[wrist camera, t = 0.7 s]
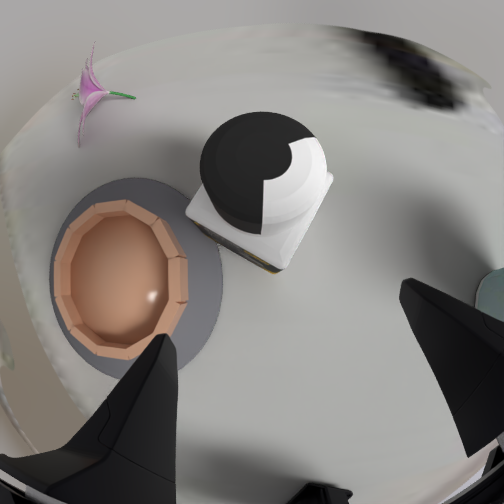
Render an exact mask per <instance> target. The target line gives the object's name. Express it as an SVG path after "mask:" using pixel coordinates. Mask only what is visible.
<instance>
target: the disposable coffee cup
mask: <svg viewBox="0 0 504 504" xmlns="http://www.w3.org/2000/svg"><path fill="white" fill-rule="evenodd" d="M475 308H476V309H478V310H480V311H481V312H484V313H486V314H488V315H490V316H492V317H494V318H496V319H498V320H500V321H503V322H504V268H501V269H498V270H494V271H492V272H491V273H490V274H488V275H487V276H486V277H485V278H483V279H482V280H481V282H480V285H479V287H478V290H477V292H476V301H475Z"/></svg>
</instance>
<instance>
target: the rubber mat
mask: <svg viewBox="0 0 504 504" xmlns="http://www.w3.org/2000/svg"><path fill="white" fill-rule="evenodd" d="M124 199H126V200H129V201H131V202H133V203H135V204H137V205H138V206H140V207H142V208H144V209H146V210H147V211H149V212H151V213H153V214H155V215H156V216H158V217H160V218H161V219H163V220H165V221H166V222H167V223H168V224H169V225H170V227H171V229H172V231H173V233H174V235H175V236H176V238H177V240H178V242H179V244H180V245H181V247H182V249H183V251H184V253H185V254H186V256H187V257H186V258H185V259H188V299H189V300H186V302H188V303H187V305H186V307H185V309H184V311H183V313H182V315H181V317H180V319H179V321H178V323H177V325H176V327H175V329H174V331H173V333H172V335H171V336H170V339H171V340H172V342H173V344H174V345H175V347H176V351H177V371H178V370H180V369H181V368H183V367H184V366H185V365H186V364H188V363H189V362H190V361H191V360H192V359H193V358H194V357H195V356H196V355H197V354H198V352H199V351H200V350H201V349H202V348H203V346H204V345H205V343H206V341H207V340H208V338H209V337H210V335H211V332H212V330H213V328H214V326H215V324H216V321H217V317H218V314H219V310H220V305H221V299H222V289H223V275H222V264H221V259H220V255H219V250H218V247H217V244H216V241H214V240H212V239H210V238H209V237H207V236H205V235H204V234H203V233H202V231H201V230H200V229H199V228H198V227H197V226H196V225H195V224H194V223H193V222H192V221H191V220H190V219H189V218H188V217H187V216H186V213H185V211H186V208H187V207H188V205H189V204H190V201H189V200H188V199H187V198H186V197H185V196H183V195H182V194H181V193H180V192H178V191H177V190H175V189H173V188H171V187H170V186H168V185H165V184H163V183H160V182H158V181H154V180H150V179H144V178H127V179H121V180H117V181H113V182H110V183H108V184H105V185H103V186H101V187H99V188H97V189H96V190H94V191H92V192H91V193H90V194H88V195H87V196H86V197H84V198H83V199H82V200H81V201H80V202H79V203H78V204H77V205H76V206H75V208H74V209H73V210H72V211H71V213H70V214H69V215H68V217H67V219H66V220H65V222H64V223H63V225H62V227H61V229H60V231H59V233H58V236H57V239H56V242H55V244H54V248H53V252H52V257H51V263H50V278H49V280H50V293H51V299H52V304H53V308H54V312H55V315H56V318H57V320H58V323H59V325H60V327H61V329H62V331H63V333H64V335H65V337H66V338H67V340H68V341H69V343H70V344H71V346H72V347H73V348H74V349H75V351H76V352H77V353H78V354H79V355H80V356H81V357H82V358H83V359H84V360H85V361H86V362H87V363H89V364H90V365H91V366H93V367H94V368H95V369H97V370H99V371H101V372H102V373H104V374H106V375H109V376H111V377H114V378H117V379H121V378H122V377H123V376H124V375H125V373H126V372H127V371H128V369H129V368H130V367H131V366H132V364H133V363H134V362H135V361H136V359H137V358H138V357H139V356H140V355H138V356H136V357H135V358H133V359H131V360H124V359H116V358H110V357H103V356H97V354H94V353H93V352H91V351H90V350H89V349H88V348H87V347H85V346H84V345H83V344H82V343H81V342H80V341H78V340H77V339H76V338H75V337H74V336H73V335H72V334H71V333H70V331H71V330H70V331H68V329H67V326H66V324H65V322H64V320H63V317H62V315H61V313H60V310H59V308H58V306H57V303H56V301H55V298H56V297H54V261H56V260H55V256H56V254H57V251H58V249H59V246H60V244H61V241H62V239H63V237H64V234H65V232H66V230H67V228H70V227H69V225H70V224H71V223H72V222H73V221H75V220H76V219H77V218H78V217H79V216H80V215H81V214H83V213H84V212H85V211H86V210H87V209H88V208H90V207H91V206H92V205H95V204H96V203H103V202H110V201H117V200H124Z"/></svg>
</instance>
